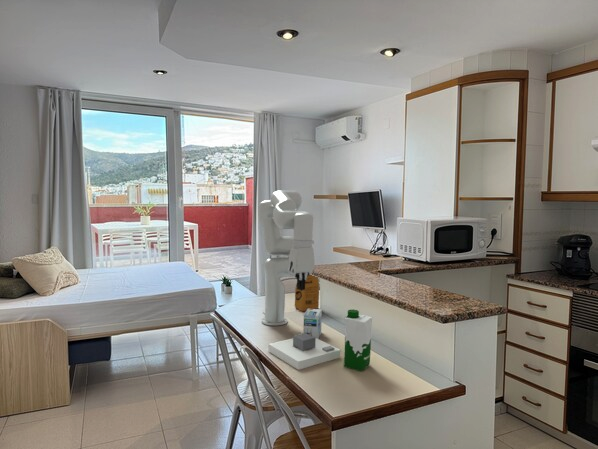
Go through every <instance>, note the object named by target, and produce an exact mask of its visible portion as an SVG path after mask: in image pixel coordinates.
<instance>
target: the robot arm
mask: <svg viewBox="0 0 598 449" xmlns="http://www.w3.org/2000/svg"><path fill="white" fill-rule="evenodd" d="M302 202H303V200H302V195H301V194H300V192H299V191H297V190H276V191H274V192H273V193H271V195H270V198H269V200H268V199H267V200H263V201H261V202H260V203H259V204H258V205H259V206H258V217H259V221H260V224H261V226H262V228H263V237H264V239H263V240H264V247H265V252H266V254H267V255H268V256H282V257H269V258H267V259H266V260H265V261H264V264H263V272H264V281H265V282H264V284H265V285H264V286H265V287H264V288H265V289H264V290H265V294H264V310H263V311H262V314H263V315H264V316H263V318H261V323H262V324H263V325H265V326H278V327H279V326H283V325H286V324H287V323H288V319H287V317H285V308H286V307H285V306H286V304H285V302H286V301H285V298H286V286H285V283H284V282H283V281H282V280H281V278H291V277H294V278H295V279H296V284H297V289H299V290H305V280H306V279H307V277H308V276H309V275H310V274H312V273H313V270H314V269H315V252H314V251H315V250H314V247H313V244H315V241H314V239H313V237H314V236H313V235H314V234H313V231H314V216H313V213H310V212H308V211H306V210H305V211H304V210H299V209H300V208H301V206H302ZM281 230H293V236H291V235H290V236H289V235H287V236H286V235H285V236H284V235H282V231H281ZM284 256H285V257H284Z"/></svg>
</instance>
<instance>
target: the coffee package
mask: <svg viewBox="0 0 598 449" xmlns="http://www.w3.org/2000/svg"><path fill="white" fill-rule="evenodd" d="M319 296H320V282H319V276H318V277H315V276H312V275H309V276H308V277H307V279H306V280H305V290H299V289H297V283H296V284H295V290H294V307H295V309H297V310H298V311H301V312H306V311H307V309H308V308H310V309H319V305H320V304H319V302H320V301H319V300H320V299H319V298H320V297H319Z"/></svg>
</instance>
